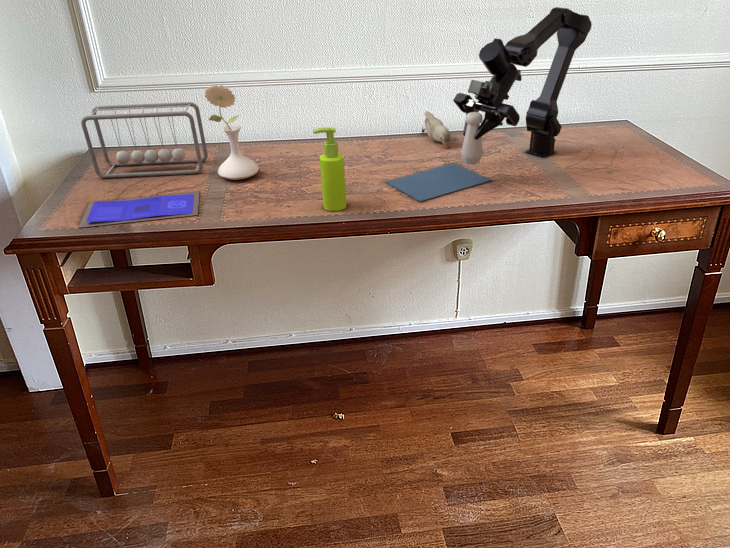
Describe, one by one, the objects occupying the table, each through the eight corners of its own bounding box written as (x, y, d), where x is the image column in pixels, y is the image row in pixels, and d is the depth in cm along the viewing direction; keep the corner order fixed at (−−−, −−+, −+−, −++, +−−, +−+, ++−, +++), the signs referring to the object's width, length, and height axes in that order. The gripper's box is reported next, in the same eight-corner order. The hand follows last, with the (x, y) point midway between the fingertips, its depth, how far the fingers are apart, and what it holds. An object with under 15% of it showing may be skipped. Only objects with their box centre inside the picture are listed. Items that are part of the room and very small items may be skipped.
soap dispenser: (319, 202, 156) (312, 125, 145) (346, 200, 156) (341, 124, 145) (319, 212, 151) (312, 133, 140) (346, 210, 151) (342, 131, 140)
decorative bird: (439, 150, 187) (440, 125, 182) (418, 134, 199) (418, 111, 195) (455, 147, 188) (456, 123, 184) (433, 132, 201) (433, 109, 196)
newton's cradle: (96, 179, 172) (78, 116, 162) (107, 165, 180) (90, 105, 171) (203, 173, 174) (191, 111, 164) (209, 160, 182) (198, 101, 172)
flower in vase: (267, 171, 174) (255, 82, 160) (243, 186, 165) (229, 92, 152) (230, 165, 179) (215, 78, 165) (205, 179, 170) (188, 88, 156)
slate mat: (454, 163, 177) (454, 162, 176) (490, 181, 165) (490, 180, 165) (385, 182, 166) (385, 181, 166) (420, 202, 155) (420, 201, 154)
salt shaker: (487, 162, 162) (490, 113, 154) (471, 167, 159) (474, 118, 151) (471, 156, 165) (474, 108, 158) (456, 161, 163) (458, 113, 155)
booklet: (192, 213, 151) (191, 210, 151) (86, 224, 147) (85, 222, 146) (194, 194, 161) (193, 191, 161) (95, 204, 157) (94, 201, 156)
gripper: (459, 60, 157) (428, 112, 157) (517, 72, 145) (484, 128, 145) (477, 86, 165) (448, 135, 166) (533, 99, 154) (502, 151, 154)
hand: (469, 137), depth 157 cm, fingers closed on salt shaker, 3 cm apart
